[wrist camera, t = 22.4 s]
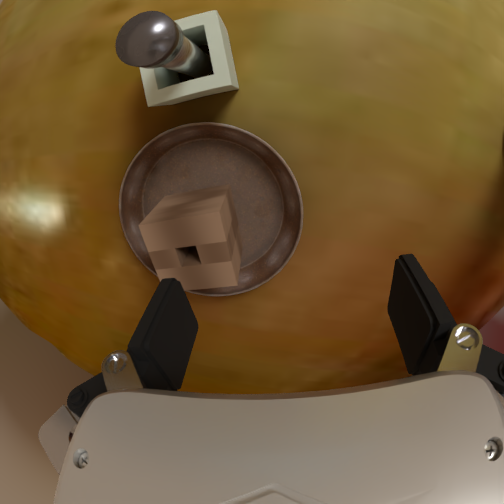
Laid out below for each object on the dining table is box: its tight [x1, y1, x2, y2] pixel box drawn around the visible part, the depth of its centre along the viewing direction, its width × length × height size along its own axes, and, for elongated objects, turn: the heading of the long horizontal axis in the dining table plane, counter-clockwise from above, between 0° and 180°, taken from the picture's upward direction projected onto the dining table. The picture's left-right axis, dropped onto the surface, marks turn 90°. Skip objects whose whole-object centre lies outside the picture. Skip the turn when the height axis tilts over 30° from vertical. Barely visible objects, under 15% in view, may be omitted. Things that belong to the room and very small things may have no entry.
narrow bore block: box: [138, 184, 243, 291], centre depth 22 cm, size 6×6×6 cm
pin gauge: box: [116, 11, 213, 78], centre depth 14 cm, size 3×3×12 cm
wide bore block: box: [140, 10, 239, 107], centre depth 17 cm, size 6×6×6 cm
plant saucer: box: [119, 122, 303, 296], centre depth 26 cm, size 18×18×3 cm
